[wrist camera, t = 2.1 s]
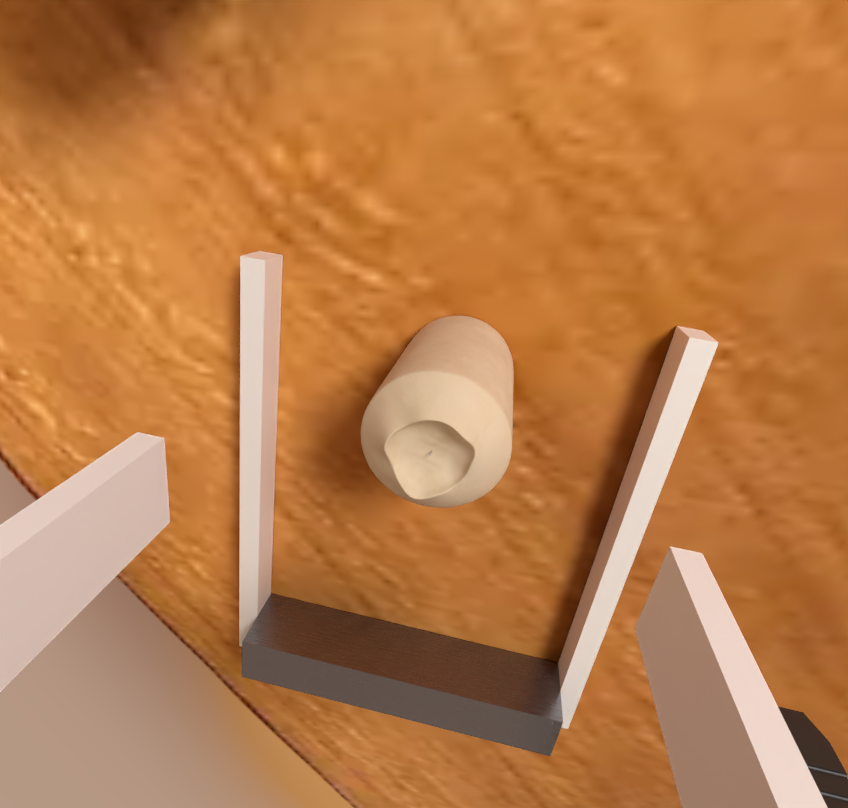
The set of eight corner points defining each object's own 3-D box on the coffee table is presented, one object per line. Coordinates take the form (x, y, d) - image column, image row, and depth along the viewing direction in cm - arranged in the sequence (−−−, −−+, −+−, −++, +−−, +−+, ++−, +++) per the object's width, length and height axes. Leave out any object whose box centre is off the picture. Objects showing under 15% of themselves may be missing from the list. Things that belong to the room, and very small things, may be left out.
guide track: (565, 699, 34) (570, 761, 31) (253, 622, 36) (223, 671, 32) (703, 330, 24) (736, 356, 20) (259, 250, 26) (217, 261, 22)
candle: (482, 434, 28) (465, 555, 19) (389, 388, 28) (326, 488, 19) (534, 344, 26) (543, 433, 17) (432, 294, 25) (385, 356, 16)
